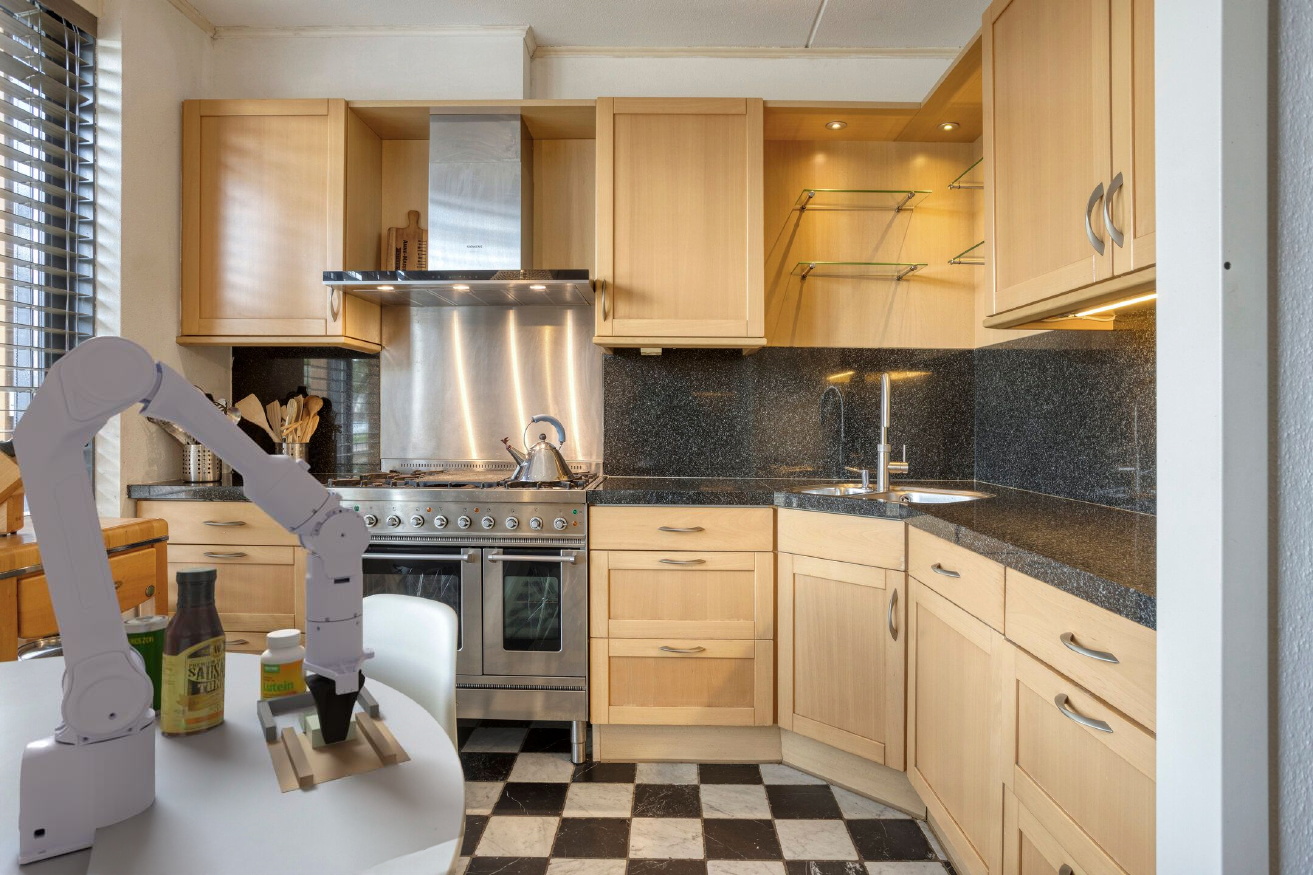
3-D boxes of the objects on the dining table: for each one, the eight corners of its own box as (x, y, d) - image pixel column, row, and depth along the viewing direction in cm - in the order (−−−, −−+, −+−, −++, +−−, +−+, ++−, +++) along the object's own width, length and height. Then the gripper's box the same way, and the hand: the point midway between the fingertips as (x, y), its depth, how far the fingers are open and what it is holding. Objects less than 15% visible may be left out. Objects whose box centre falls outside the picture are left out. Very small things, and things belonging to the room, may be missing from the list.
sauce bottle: (192, 752, 78) (192, 575, 79) (146, 747, 80) (146, 573, 80) (238, 728, 85) (238, 565, 85) (195, 725, 86) (194, 564, 86)
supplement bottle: (255, 716, 89) (255, 639, 89) (266, 701, 94) (266, 629, 94) (301, 711, 90) (301, 636, 90) (310, 697, 95) (310, 626, 95)
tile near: (312, 748, 76) (311, 729, 76) (305, 734, 79) (305, 716, 79) (356, 738, 78) (356, 720, 78) (348, 725, 82) (348, 708, 82)
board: (282, 808, 66) (282, 781, 66) (266, 754, 78) (265, 732, 78) (411, 773, 73) (411, 749, 73) (378, 728, 85) (378, 708, 85)
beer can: (172, 713, 90) (172, 620, 90) (119, 724, 86) (119, 627, 86) (168, 701, 94) (168, 612, 94) (118, 711, 90) (118, 619, 91)
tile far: (304, 731, 79) (303, 713, 80) (299, 732, 83) (298, 714, 83) (346, 722, 82) (345, 704, 82) (340, 723, 85) (339, 706, 86)
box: (266, 754, 78) (266, 727, 78) (257, 724, 86) (257, 700, 86) (378, 728, 85) (378, 704, 85) (360, 703, 93) (360, 681, 93)
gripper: (389, 624, 73) (389, 755, 72) (359, 598, 85) (359, 711, 84) (314, 635, 69) (314, 773, 68) (294, 606, 81) (294, 724, 80)
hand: (334, 740), depth 76 cm, fingers closed
